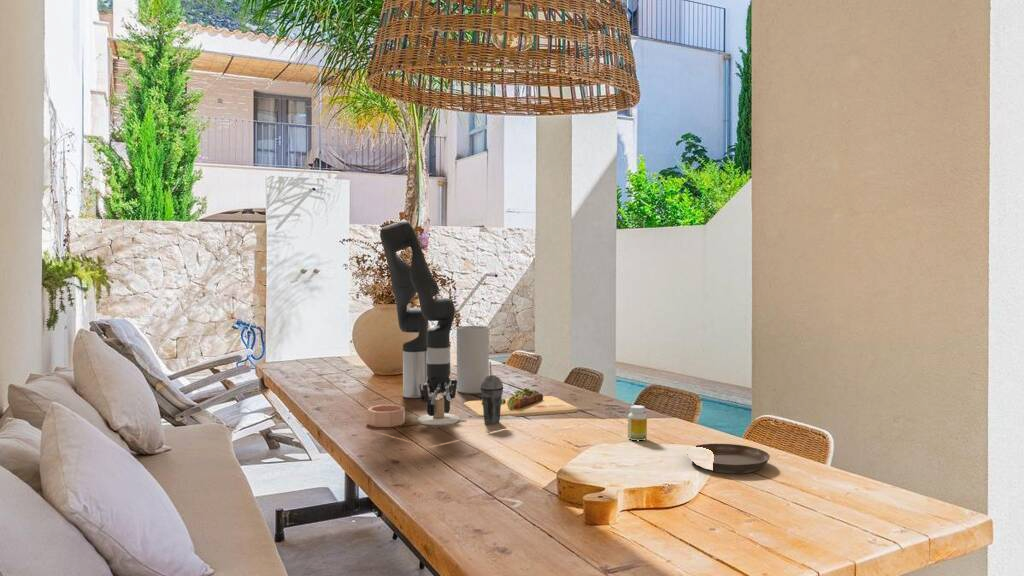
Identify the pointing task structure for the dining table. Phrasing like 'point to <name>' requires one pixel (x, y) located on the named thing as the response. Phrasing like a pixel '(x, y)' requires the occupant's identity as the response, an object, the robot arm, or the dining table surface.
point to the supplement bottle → (637, 423)
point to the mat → (437, 426)
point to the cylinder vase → (472, 358)
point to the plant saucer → (736, 458)
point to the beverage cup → (491, 398)
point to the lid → (438, 415)
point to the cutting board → (526, 405)
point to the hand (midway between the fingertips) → (438, 413)
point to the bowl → (386, 415)
